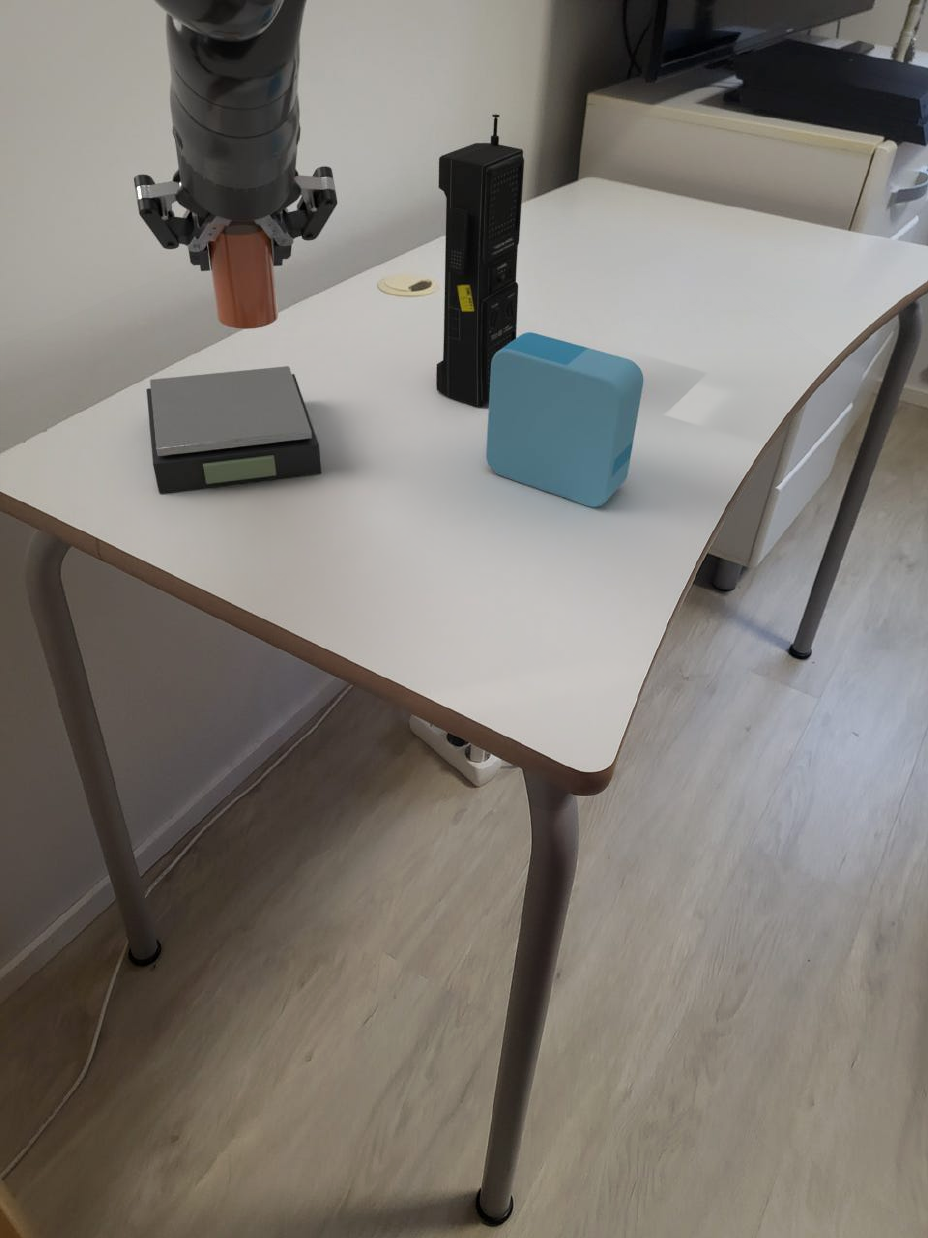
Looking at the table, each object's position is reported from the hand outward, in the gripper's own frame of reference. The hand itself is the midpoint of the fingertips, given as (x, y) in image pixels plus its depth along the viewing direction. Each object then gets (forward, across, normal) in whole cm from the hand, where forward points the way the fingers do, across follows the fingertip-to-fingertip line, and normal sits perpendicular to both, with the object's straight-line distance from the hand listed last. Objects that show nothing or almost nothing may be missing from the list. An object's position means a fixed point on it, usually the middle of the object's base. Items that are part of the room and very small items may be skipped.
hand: (239, 256), depth 74 cm
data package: (+6, -25, +20) cm, 32 cm away
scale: (+15, +2, +11) cm, 18 cm away
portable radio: (+18, -22, +7) cm, 30 cm away
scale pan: (+12, +2, +9) cm, 15 cm away
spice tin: (+2, 0, +4) cm, 4 cm away
